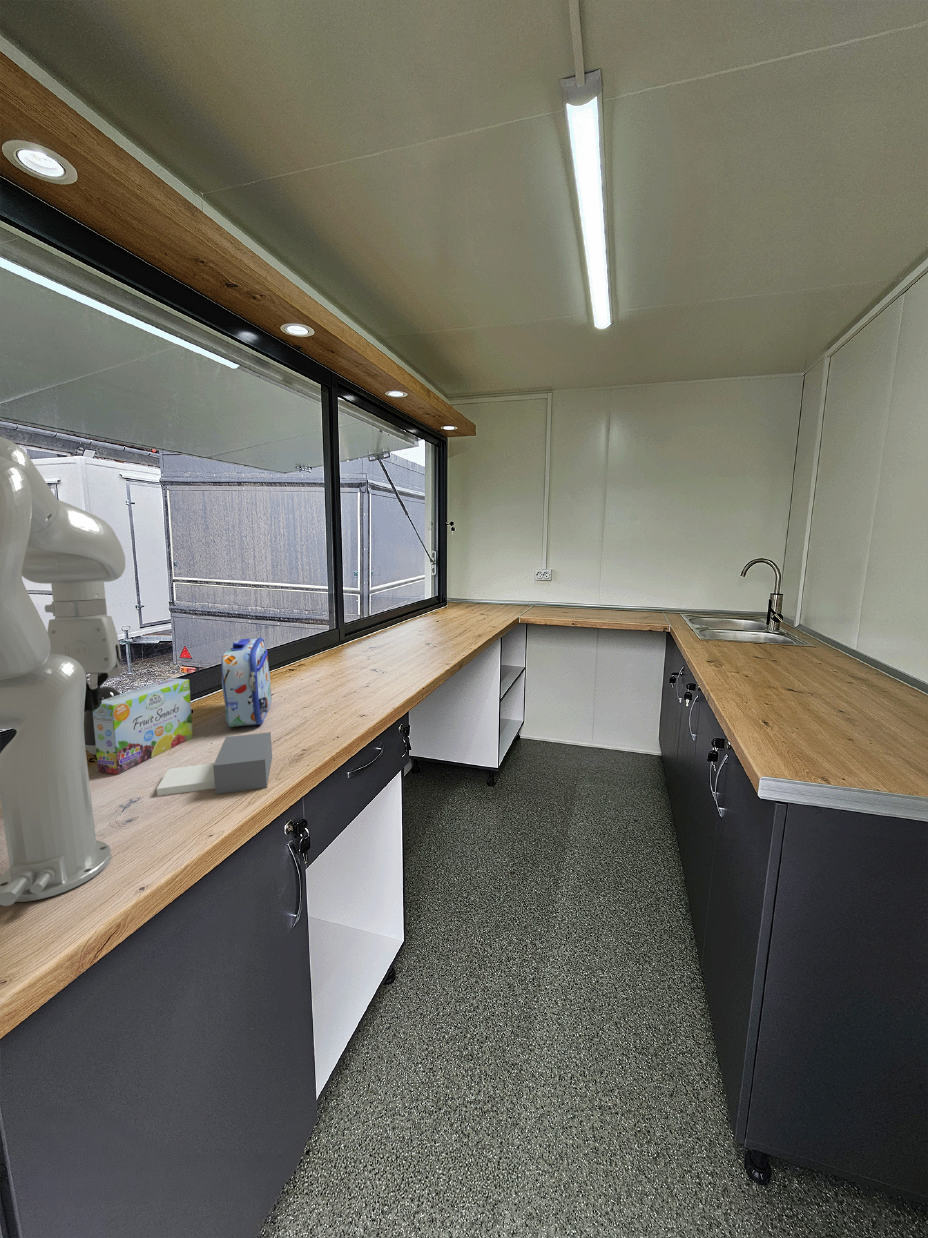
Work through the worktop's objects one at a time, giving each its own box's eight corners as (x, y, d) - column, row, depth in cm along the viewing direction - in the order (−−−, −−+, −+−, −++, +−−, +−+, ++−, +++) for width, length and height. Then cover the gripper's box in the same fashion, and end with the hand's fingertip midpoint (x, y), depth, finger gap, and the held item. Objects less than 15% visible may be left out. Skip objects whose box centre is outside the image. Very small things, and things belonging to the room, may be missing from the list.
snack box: (120, 776, 102) (112, 704, 100) (97, 773, 103) (89, 702, 101) (195, 737, 123) (190, 677, 121) (175, 736, 124) (169, 676, 122)
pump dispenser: (73, 764, 108) (65, 695, 106) (94, 745, 118) (87, 683, 116) (128, 758, 111) (121, 691, 108) (143, 741, 120) (137, 679, 118)
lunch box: (267, 732, 126) (262, 646, 123) (222, 737, 123) (215, 648, 120) (273, 701, 152) (269, 629, 149) (236, 704, 149) (231, 631, 146)
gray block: (266, 787, 96) (265, 759, 96) (215, 794, 94) (213, 765, 93) (272, 757, 111) (270, 732, 110) (227, 762, 108) (225, 737, 107)
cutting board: (250, 786, 98) (249, 776, 98) (157, 799, 94) (156, 788, 93) (254, 767, 107) (253, 758, 107) (169, 778, 102) (168, 768, 102)
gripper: (19, 613, 84) (31, 719, 86) (120, 610, 88) (130, 711, 90) (42, 610, 92) (53, 708, 93) (135, 606, 96) (144, 700, 98)
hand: (91, 709), depth 92 cm, fingers closed
